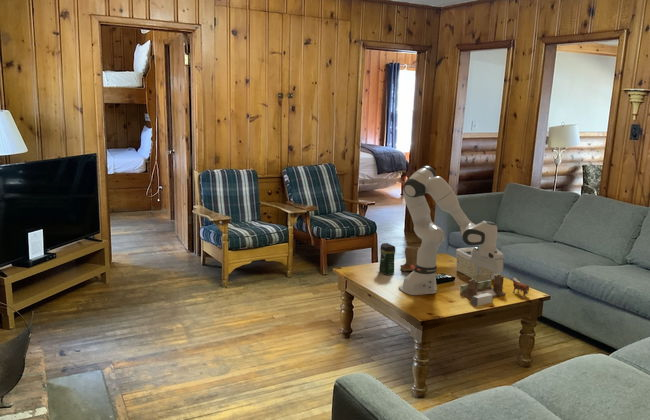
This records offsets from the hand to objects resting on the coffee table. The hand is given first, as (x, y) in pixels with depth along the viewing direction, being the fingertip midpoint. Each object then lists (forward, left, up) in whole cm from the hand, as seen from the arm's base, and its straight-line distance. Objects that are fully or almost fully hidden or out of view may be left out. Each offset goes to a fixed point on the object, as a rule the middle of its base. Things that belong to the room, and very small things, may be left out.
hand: (485, 275), depth 291 cm
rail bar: (0, 0, -16) cm, 16 cm away
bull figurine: (+30, +2, -16) cm, 34 cm away
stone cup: (0, +63, -16) cm, 65 cm away
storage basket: (+31, +37, -16) cm, 51 cm away
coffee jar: (-18, +64, -16) cm, 68 cm away
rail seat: (+10, +10, -16) cm, 21 cm away
